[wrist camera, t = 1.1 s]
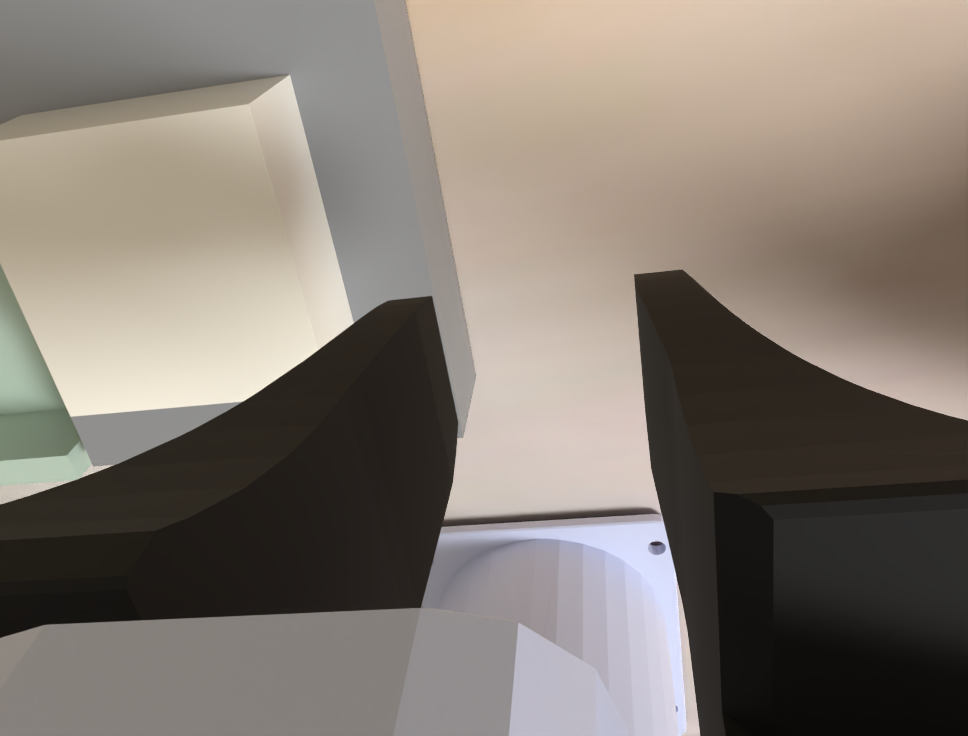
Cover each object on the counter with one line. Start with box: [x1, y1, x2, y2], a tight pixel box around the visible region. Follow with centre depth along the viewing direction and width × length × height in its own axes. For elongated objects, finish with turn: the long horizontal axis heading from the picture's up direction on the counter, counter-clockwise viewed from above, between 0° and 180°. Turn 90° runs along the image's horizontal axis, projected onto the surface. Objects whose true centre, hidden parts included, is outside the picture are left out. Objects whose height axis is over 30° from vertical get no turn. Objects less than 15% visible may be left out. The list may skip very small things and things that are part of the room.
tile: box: [0, 75, 354, 417], centre depth 18 cm, size 6×6×2 cm
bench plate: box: [0, 0, 476, 466], centre depth 21 cm, size 12×10×3 cm
